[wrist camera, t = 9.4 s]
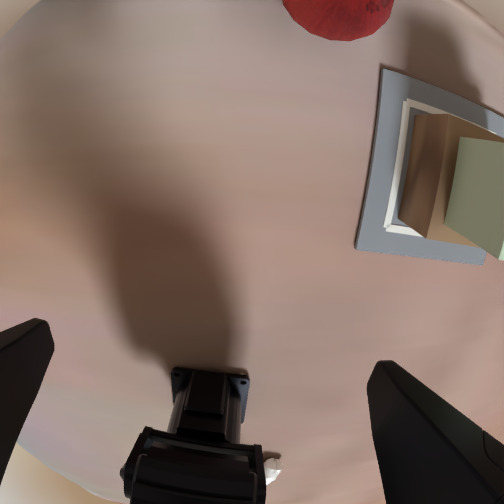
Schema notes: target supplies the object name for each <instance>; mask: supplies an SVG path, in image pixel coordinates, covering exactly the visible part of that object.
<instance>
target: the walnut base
mask: <svg viewBox="0 0 504 504" xmlns="http://www.w3.org/2000/svg"><path fill="white" fill-rule="evenodd" d="M460 137H467V138H475V139H482V140H489V141H496V142H502V143H504V138H502V137H500V136H498V135H496V134H494V133H492V132H490V131H488V130H486V129H483V128H481V127H479V126H477V125H475V124H472V123H470V122H468V121H465V120H463V119H460V118H458V117H455V116H453V115H450V114H423V115H415V117H414V125H413V134H412V141H411V148H410V155H409V161H408V168H407V173H406V179H405V185H404V190H403V195H402V200H401V205H400V210H399V214H398V219H399V220H400V221H402V222H403V223H405V224H406V225H407V226H409V227H410V228H412V229H413V230H415V231H416V232H417V233H419V234H420V235H421V236H423V237H424V238H426V239H430V240H436V241H443V242H449V243H455V244H461V245H467V246H472V247H478V248H481V247H479V246H478V245H476V244H474V243H473V242H471V241H470V240H468V239H467V238H465V237H463V236H462V235H460V234H459V233H457V232H455V231H454V230H452V229H450V228H449V227H447V226H445V225H444V221H445V217H446V213H447V208H448V204H449V199H450V194H451V189H452V184H453V179H454V173H455V167H456V161H457V154H458V147H459V140H460Z"/></svg>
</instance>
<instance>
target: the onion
mask: <svg viewBox="0 0 504 504" xmlns="http://www.w3.org/2000/svg"><path fill="white" fill-rule="evenodd" d="M393 2H394V0H283V5H284V6H285V8H286V9H287V11H288V12H289V14H290V15H291V17H292V18H293V20H294V21H295V22H297V23H298V24H299V25H301V26H302V27H303V28H305V29H306V30H307V31H308V32H310V33H311V34H314V35H317V36H320V37H323V38H326V39H329V40H339V41H352V40H355V39H359V38H362V37H366V36H369V35H372V34H373V33H375V32H376V31H377V30H378V29H379V28H380V27H381V26H382V25H384V24H385V23H386V21H387V20H388V19H389V17H390V14H391V10H392V6H393Z"/></svg>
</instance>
